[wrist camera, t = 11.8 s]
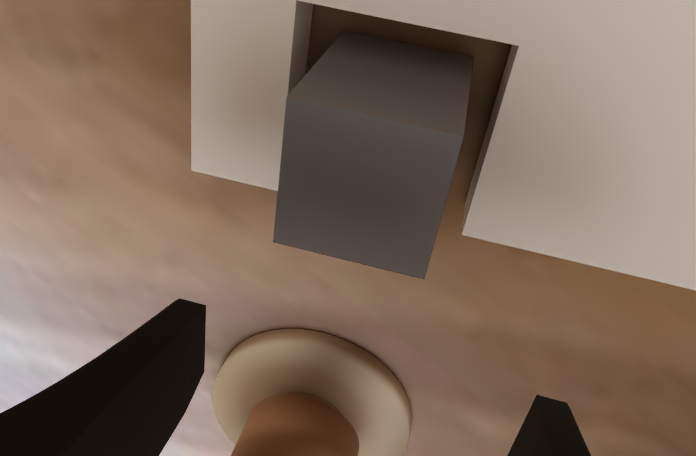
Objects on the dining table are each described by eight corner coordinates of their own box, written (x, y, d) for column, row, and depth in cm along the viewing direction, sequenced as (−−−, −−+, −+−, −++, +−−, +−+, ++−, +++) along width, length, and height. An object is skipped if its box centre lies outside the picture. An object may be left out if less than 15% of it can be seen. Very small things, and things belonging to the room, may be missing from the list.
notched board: (894, 18, 15) (943, 39, 14) (736, 266, 20) (758, 305, 18) (220, -109, 17) (190, -104, 15) (215, 145, 21) (191, 170, 20)
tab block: (473, 56, 18) (463, 136, 13) (442, 173, 20) (424, 279, 15) (344, 29, 18) (286, 96, 13) (328, 146, 21) (273, 242, 16)
